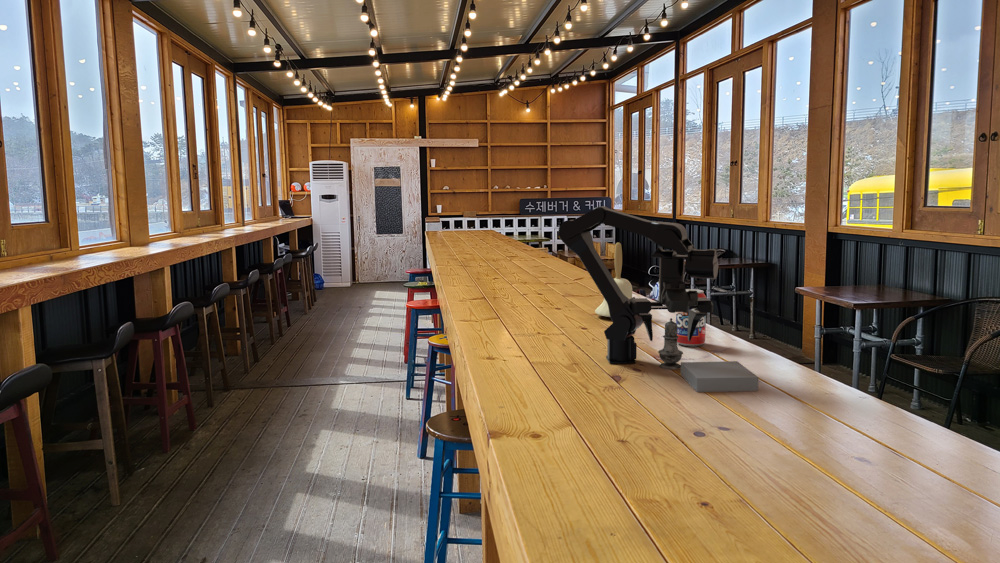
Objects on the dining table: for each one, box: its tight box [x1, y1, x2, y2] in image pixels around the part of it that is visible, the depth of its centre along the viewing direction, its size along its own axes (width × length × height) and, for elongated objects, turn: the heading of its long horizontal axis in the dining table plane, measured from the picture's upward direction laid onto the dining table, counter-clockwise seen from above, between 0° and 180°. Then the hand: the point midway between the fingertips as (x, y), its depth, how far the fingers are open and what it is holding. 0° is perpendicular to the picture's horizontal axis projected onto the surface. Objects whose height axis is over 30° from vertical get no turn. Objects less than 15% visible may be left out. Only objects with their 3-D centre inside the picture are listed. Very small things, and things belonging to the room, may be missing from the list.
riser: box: [680, 360, 760, 393], centre depth 149 cm, size 13×13×3 cm
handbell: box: [594, 242, 633, 318], centre depth 222 cm, size 15×15×25 cm
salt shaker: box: [657, 317, 684, 370], centre depth 162 cm, size 6×6×12 cm
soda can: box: [675, 288, 707, 348], centre depth 183 cm, size 8×8×15 cm
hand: (670, 340), depth 162 cm, fingers open, 9 cm apart
